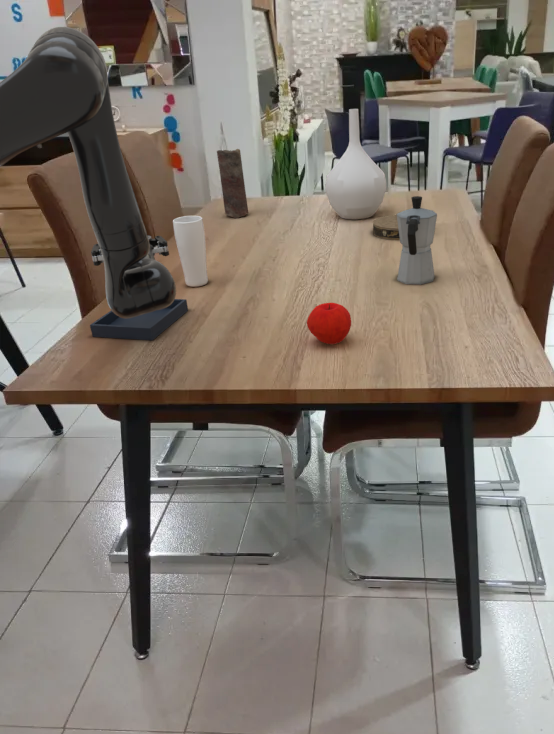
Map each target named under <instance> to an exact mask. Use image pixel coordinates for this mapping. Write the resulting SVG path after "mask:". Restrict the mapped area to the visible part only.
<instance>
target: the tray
mask: <svg viewBox="0 0 554 734" xmlns="http://www.w3.org/2000/svg"><path fill="white" fill-rule="evenodd" d="M187 312H189V306H188V300H187V299H186V298H184V299H182V298H175V300H174V301H173V303H172V304H171V305H170V306H168V307H166V308H164V309H160V310H156V311H153V312H150V313H146V314H143V315H139V316H136V317H132V318H127V319H125V318H121V317H119V316H117V315H116V314H114V313H113V312H112V310H111V309H110V310H109V311H108V312H107V313H105V314H104V315H102V316H100V317H99V318H98V319H96V320H95V321H94V322H91V324H89V328H90V331H91V336H92V337H93V338H105V339H106V338H108V339H121V340H123V339H124V340H140V341H154V340H155V339H156V338H157V337H159V335H161V334H162V333H163V332H165V331H166V330H167V329H168V328H170V326H172V325H173V324H174V323H175V322H177V321H178V320H179V319H180V318H181V317H182V316H184V315H185V314H186V313H187Z"/></svg>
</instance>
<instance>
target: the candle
mask: <svg viewBox="0 0 554 734" xmlns="http://www.w3.org/2000/svg"><path fill="white" fill-rule="evenodd" d="M216 156H217V162H218V170H219V176H220V185H221V192H222V199H223V206H224V214H225V215H226V216H227V217H231V218H233V219H239V218H241V217H245V216H246V215H248V214H249V207H248V206H249V205H248V200H247V194H246V185H245V178H244V170H243V161H242V153H241V150H240V148H236V149H234V150H228V149H223V150H222V149H219V150H216Z"/></svg>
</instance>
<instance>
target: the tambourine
mask: <svg viewBox="0 0 554 734" xmlns="http://www.w3.org/2000/svg"><path fill="white" fill-rule="evenodd" d="M372 230H373V231H372V234H373V235H374V236H375V237H377V238H380V239H384V240H385V239H386V240H395V241H400V237H399V229H398V221H397V215H396V214H390V215H384V216H380V217H377V218H375V219H374V220H373V221H372Z"/></svg>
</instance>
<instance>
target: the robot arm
mask: <svg viewBox="0 0 554 734" xmlns="http://www.w3.org/2000/svg"><path fill="white" fill-rule="evenodd" d="M108 75H109V74H108V67H107V62H106V60H105V57H104V55H103V53H102V52H101V50H100V48H99V46H98V45H97V44H96V43H95V41H93V39H92V38H91V37H89V36H88V35H87V34H85V33H84V32H82V31H80V30H78V29H76V28H73V27H68V26H56V27H55V26H54V27H53V28H50V29H48V30H46V31H45V32H43V33H42V34H41V35H40V36H39V37H38V38H37V39H36V41H35V42H34V44H33V45H32V47H31V49H30V51H29V53H28V55H27V56H26V58H25V59H24V61H22V63H20V65H19V66H18V67H17V68H16V69H15V70H13V71H12V72H11V73H10V74H9V75H8V76H6V77H5V78H4V79H2V80H1V81H0V168H1V167H2V166H4V165H5V164H6V163H8V162H9V161H11V160H12V159H13V158H15V157H16V156H18V155H20V154H21V153H23V152H25V151H27V150H29V149H32V148H33V147H34V148H35V147H36V146H39V145H40V144H43V143H46V142H47V141H50V140H53V139H55V138H58V137H59V136H62V135H64V134H67V135H68V138H69V140H70V143H71V146H72V150H73V155H74V157H75V162H76V166H77V170H78V171H77V172H78V176H79V180H80V186H81V192H82V197H83V201H84V205H85V209H86V213H87V217H88V219H89V223H90V225H91V228H92V231H93V234H94V236H95V239H96V241H97V243H95V244H93V246H92V248H91V250H90V254H91V259H92V262H93V266H97V267H98V266H100V265H102V264H103V267H104V283H105V284H104V286H105V287H104V288H105V289H104V290H105V298H106V304H107V305H108V307H109V309H110V311H111V310H112V312H113V313H114V314H116V315H117V316H119V317H121V318H125V319H127V318H132V317H136V316H139V315H143V314H146V313H150V312H153V311H156V310H160V309H164V308H166V307H168V306H170V305H171V304H172V303H173V301H174V300H175V299H176V297H177V286H176V285H177V284H176V282H175V279H174V277H173V275H172V273H171V272H170V270H169V269H168V268H167V267H166V266H165V265H164V264H163V263H162V262H161V261H158V260H156V257H155V255H156V254H158V255H159V256H162V257H168V256H170V251H169V246H168V245H169V244H168V241H167V240H166V239H165V238H164V237H163V236H162V235H156V236H154V238H152V236H151V235H150V234H148V233H147V230H146V227H145V223H144V220H143V217H142V213H141V211H140V208H139V203H138V202H137V198H136V195H135V192H134V189H133V186H132V182H131V180H130V176H129V173H128V171H127V167H126V163H125V159H124V157H123V152H122V149H121V145H120V141H119V137H118V132H117V128H116V123H115V118H114V113H113V106H112V99H111V93H110V92H111V91H110V85H109V76H108Z"/></svg>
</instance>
